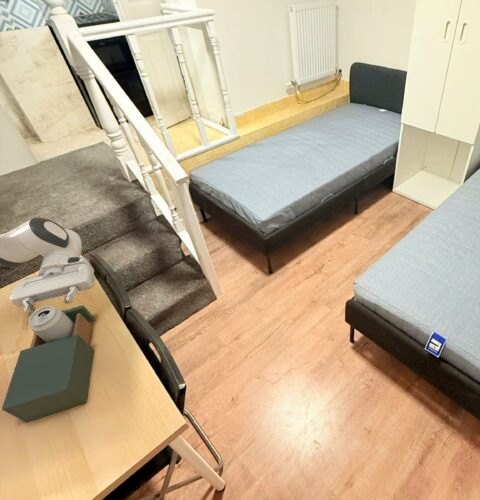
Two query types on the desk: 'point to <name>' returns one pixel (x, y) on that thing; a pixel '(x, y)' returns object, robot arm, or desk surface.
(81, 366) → the cabinet
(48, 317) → the can
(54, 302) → the desk surface
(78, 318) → the drawer
